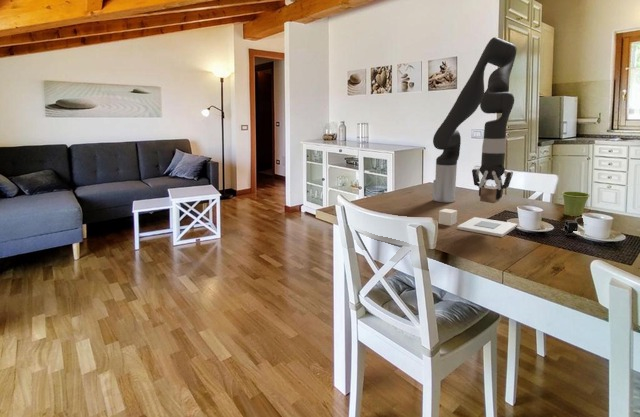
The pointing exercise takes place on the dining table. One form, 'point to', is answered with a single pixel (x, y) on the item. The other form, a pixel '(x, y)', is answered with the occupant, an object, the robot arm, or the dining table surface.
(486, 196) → the walnut block
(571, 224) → the black irregular block
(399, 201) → the dining table surface
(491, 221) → the board
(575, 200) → the plant pot
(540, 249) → the dining table surface
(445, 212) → the cream block
